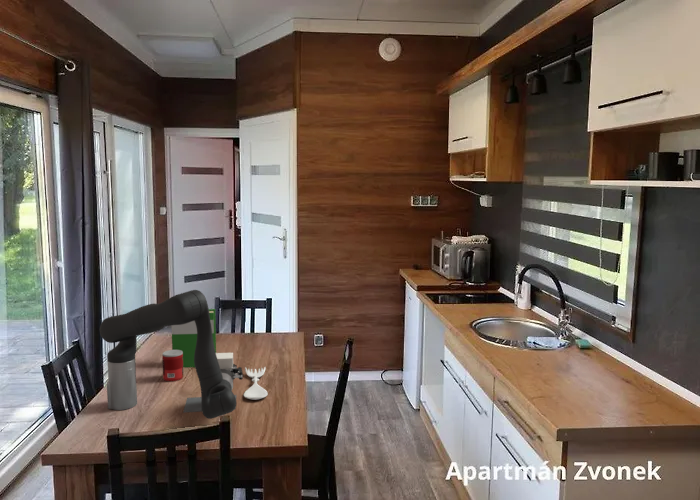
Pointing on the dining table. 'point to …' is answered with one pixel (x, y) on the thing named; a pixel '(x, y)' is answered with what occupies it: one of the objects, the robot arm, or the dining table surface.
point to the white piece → (255, 385)
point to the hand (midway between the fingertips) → (224, 366)
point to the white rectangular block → (225, 360)
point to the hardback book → (190, 339)
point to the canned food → (172, 365)
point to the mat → (194, 405)
